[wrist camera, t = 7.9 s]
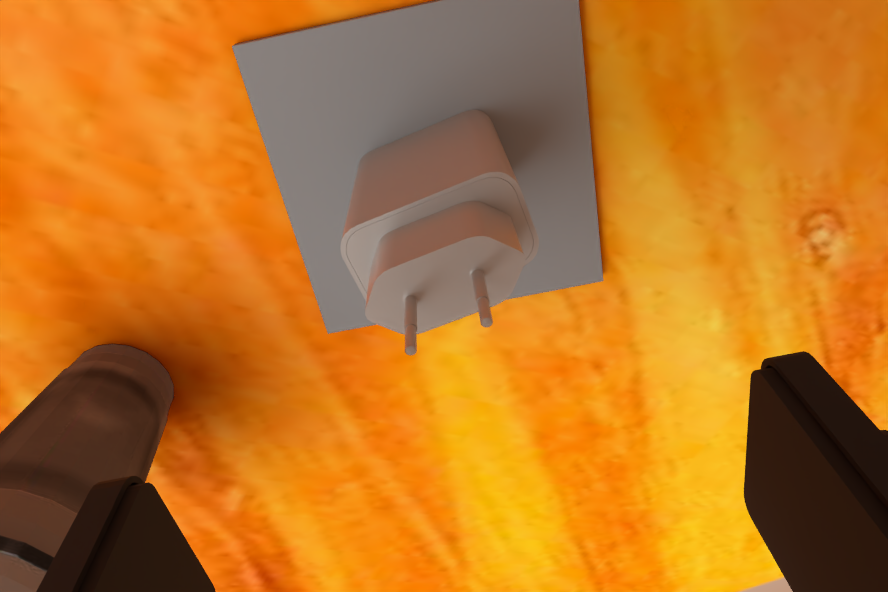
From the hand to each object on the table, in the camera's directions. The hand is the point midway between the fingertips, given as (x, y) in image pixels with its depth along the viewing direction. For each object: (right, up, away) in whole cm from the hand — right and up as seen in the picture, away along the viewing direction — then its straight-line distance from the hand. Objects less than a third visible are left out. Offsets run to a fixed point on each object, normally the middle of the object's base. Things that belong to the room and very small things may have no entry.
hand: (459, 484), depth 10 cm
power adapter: (-1, +8, +15) cm, 17 cm away
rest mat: (-1, +8, +16) cm, 17 cm away
